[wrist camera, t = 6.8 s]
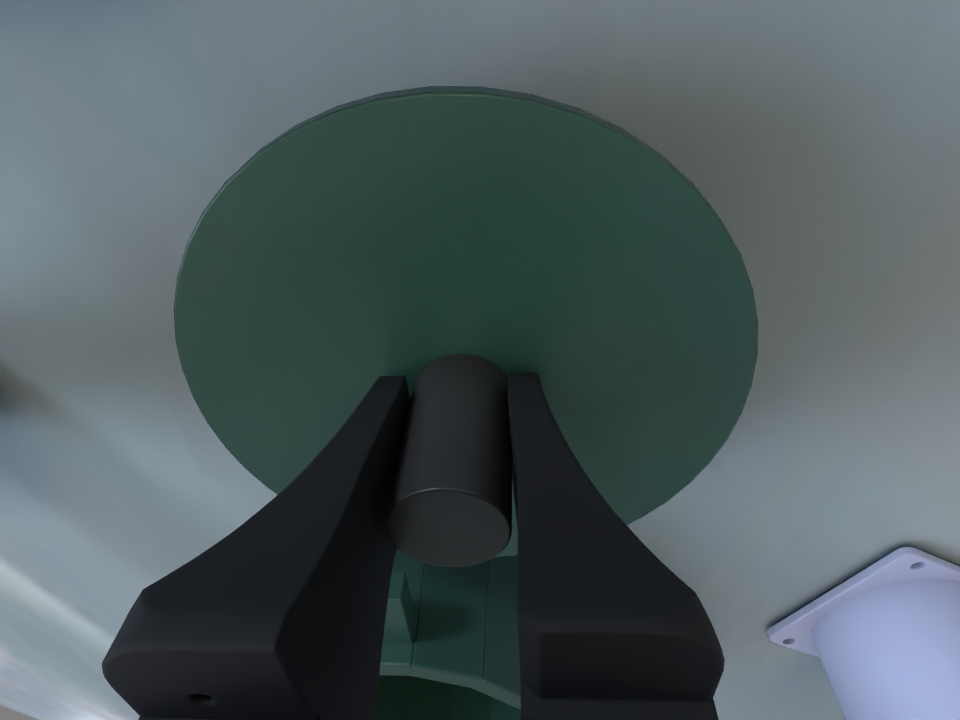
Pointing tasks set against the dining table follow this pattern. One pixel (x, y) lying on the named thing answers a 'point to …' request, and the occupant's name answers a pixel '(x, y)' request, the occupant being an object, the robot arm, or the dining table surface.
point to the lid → (467, 305)
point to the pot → (450, 642)
